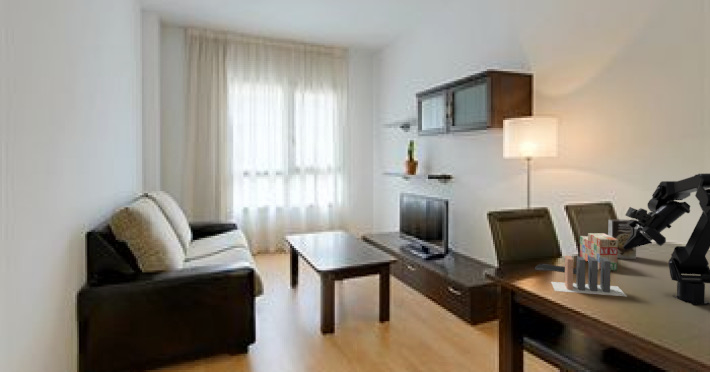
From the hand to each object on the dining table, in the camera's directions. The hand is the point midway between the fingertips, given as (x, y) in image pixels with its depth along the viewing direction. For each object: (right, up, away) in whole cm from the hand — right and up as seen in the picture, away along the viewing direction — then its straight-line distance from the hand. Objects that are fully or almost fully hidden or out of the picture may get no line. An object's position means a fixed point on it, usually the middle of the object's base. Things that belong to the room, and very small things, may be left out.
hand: (624, 248), depth 134 cm
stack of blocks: (+9, -11, +29) cm, 32 cm away
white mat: (-15, -13, -3) cm, 20 cm away
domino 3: (-10, -13, -5) cm, 17 cm away
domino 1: (-16, -13, -3) cm, 21 cm away
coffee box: (+24, -10, +38) cm, 46 cm away
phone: (-12, -12, +20) cm, 27 cm away
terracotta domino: (-20, -13, -2) cm, 23 cm away
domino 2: (-13, -13, -4) cm, 19 cm away
